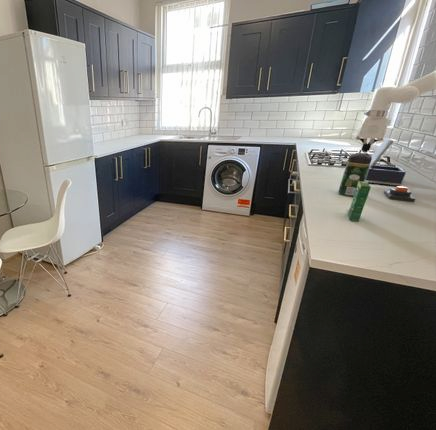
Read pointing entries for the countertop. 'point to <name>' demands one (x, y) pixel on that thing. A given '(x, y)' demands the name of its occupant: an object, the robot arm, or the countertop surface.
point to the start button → (401, 188)
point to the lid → (380, 151)
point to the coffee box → (359, 200)
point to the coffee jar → (354, 173)
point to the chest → (385, 175)
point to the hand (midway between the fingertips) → (364, 151)
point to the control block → (399, 195)
